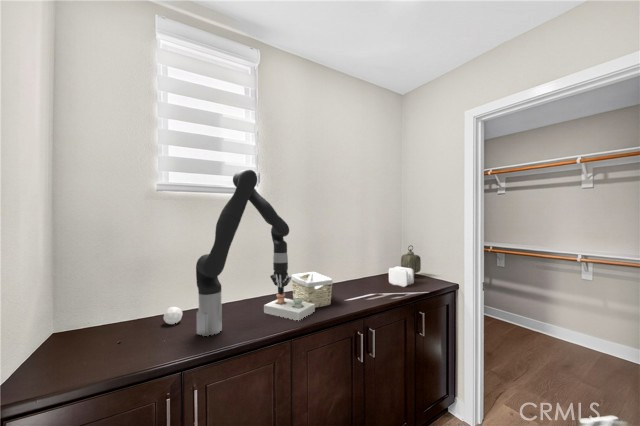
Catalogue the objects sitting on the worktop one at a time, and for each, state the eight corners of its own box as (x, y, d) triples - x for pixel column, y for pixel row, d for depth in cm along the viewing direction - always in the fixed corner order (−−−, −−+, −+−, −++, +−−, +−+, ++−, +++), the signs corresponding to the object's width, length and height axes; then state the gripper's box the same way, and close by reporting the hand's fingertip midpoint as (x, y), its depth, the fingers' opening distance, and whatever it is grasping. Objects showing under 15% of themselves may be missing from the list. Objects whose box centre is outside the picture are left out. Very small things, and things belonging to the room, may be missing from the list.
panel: (298, 321, 126) (298, 312, 126) (264, 312, 137) (263, 305, 137) (314, 311, 138) (314, 304, 138) (281, 304, 149) (281, 297, 149)
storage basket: (290, 298, 161) (290, 273, 161) (314, 294, 168) (314, 270, 168) (307, 310, 140) (307, 282, 140) (334, 305, 147) (333, 278, 147)
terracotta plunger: (281, 309, 137) (281, 295, 137) (274, 307, 140) (274, 294, 140) (287, 306, 141) (287, 293, 141) (280, 305, 144) (280, 292, 144)
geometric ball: (169, 331, 123) (156, 320, 120) (174, 318, 130) (163, 308, 127) (183, 323, 123) (171, 311, 120) (188, 311, 130) (176, 300, 127)
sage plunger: (299, 315, 132) (299, 301, 132) (291, 313, 134) (291, 300, 134) (304, 312, 136) (304, 298, 136) (297, 311, 138) (296, 297, 138)
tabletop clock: (411, 275, 217) (410, 244, 217) (421, 277, 210) (421, 245, 210) (401, 278, 208) (400, 245, 208) (411, 280, 201) (411, 246, 201)
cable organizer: (387, 283, 191) (387, 267, 191) (395, 281, 198) (395, 265, 199) (406, 287, 180) (406, 270, 180) (414, 285, 187) (414, 268, 187)
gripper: (266, 261, 141) (266, 294, 141) (286, 263, 134) (286, 297, 134) (275, 259, 147) (275, 290, 147) (294, 260, 140) (295, 293, 140)
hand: (280, 293), depth 141 cm, fingers closed
